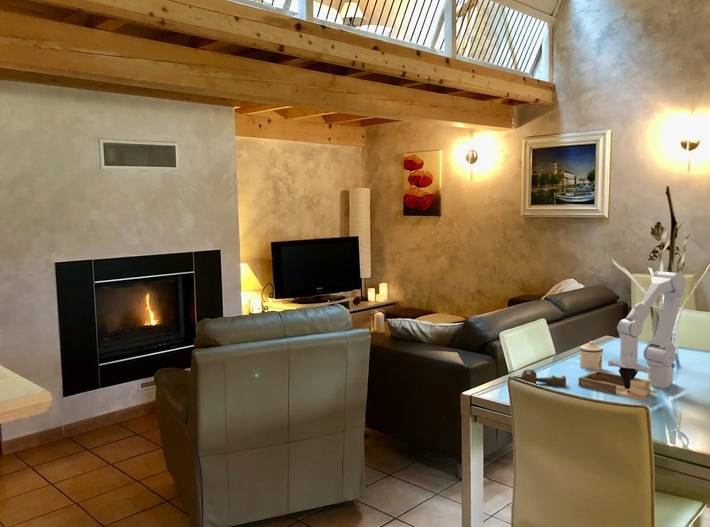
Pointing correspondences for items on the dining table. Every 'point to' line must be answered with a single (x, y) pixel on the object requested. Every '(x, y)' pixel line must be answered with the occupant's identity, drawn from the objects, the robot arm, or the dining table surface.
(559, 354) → the dining table surface
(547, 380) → the kendama
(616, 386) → the brown wooden tray
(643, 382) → the maple block
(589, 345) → the teacup with lid
